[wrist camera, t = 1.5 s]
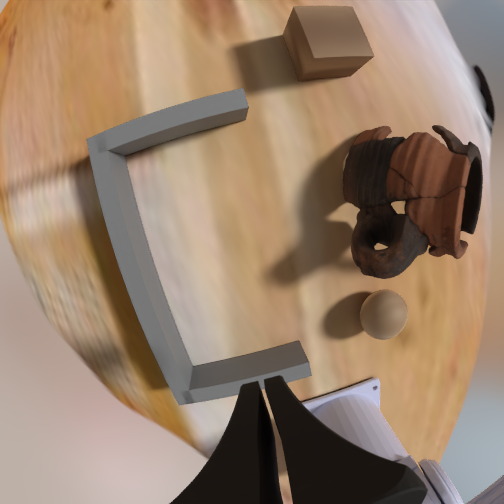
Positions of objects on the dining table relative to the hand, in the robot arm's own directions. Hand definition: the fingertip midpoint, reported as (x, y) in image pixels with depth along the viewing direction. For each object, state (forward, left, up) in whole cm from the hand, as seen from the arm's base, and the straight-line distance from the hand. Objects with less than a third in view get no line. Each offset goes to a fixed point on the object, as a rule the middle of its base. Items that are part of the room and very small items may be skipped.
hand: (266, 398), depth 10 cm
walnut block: (+16, -9, -10) cm, 21 cm away
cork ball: (-3, -9, -10) cm, 14 cm away
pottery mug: (+5, -12, -10) cm, 16 cm away
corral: (+4, +1, -10) cm, 11 cm away
